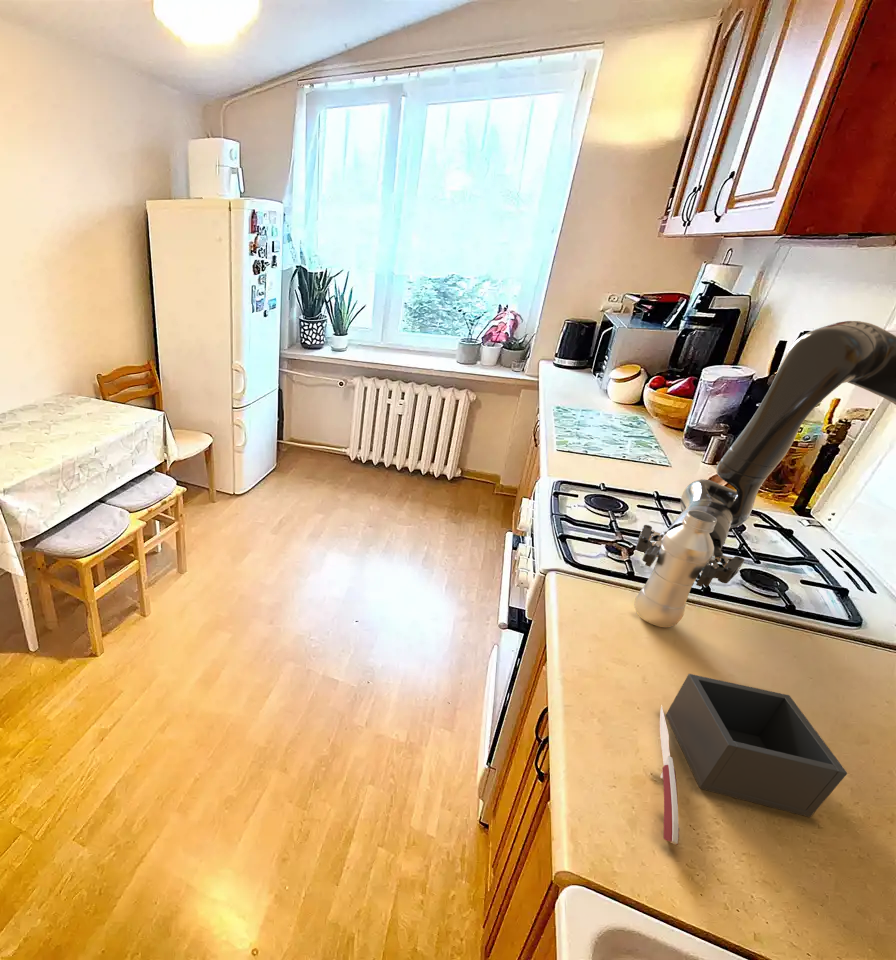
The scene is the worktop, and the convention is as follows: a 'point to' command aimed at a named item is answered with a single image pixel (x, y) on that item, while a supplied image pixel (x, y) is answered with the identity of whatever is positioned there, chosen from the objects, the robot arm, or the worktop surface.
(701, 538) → the plastic bottle
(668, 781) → the knife
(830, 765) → the bin
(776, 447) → the robot arm
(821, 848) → the worktop surface
